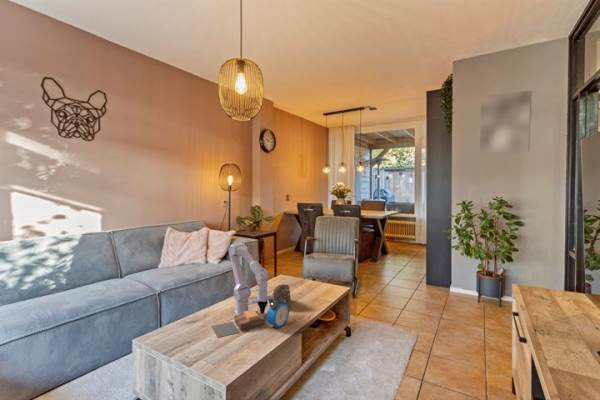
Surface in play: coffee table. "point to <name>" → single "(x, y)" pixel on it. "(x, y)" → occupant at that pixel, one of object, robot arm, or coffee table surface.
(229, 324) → the mat
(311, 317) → the coffee table surface
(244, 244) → the robot arm
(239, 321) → the tan flat block
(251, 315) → the peach rectangular block
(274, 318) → the alarm clock
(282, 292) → the rock
